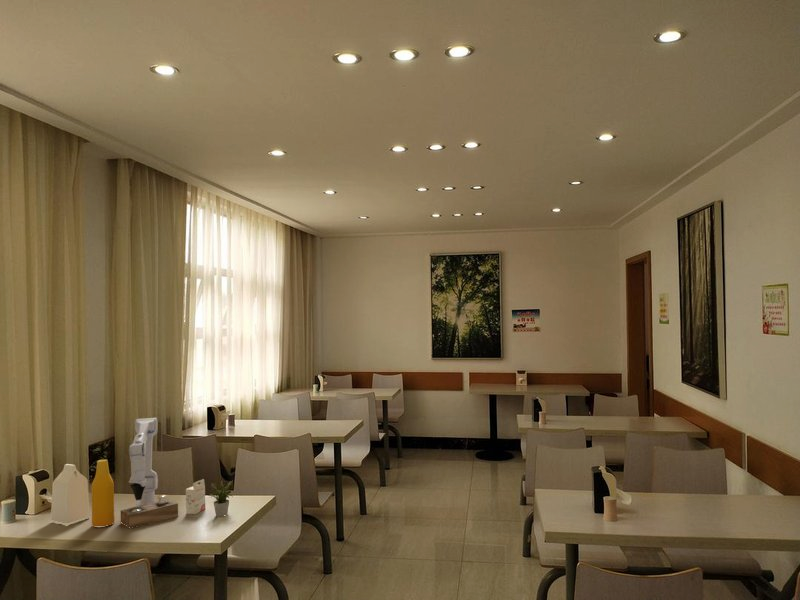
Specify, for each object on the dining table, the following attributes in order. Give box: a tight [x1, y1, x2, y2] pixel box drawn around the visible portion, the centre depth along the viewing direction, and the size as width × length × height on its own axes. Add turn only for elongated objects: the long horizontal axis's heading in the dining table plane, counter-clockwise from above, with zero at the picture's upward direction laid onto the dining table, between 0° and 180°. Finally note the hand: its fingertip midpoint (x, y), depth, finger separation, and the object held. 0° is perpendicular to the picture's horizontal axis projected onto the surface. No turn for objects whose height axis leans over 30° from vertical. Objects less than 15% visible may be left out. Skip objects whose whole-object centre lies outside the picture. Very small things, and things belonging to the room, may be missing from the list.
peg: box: [157, 494, 168, 506], centre depth 282 cm, size 4×4×6 cm
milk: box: [50, 463, 91, 523], centre depth 281 cm, size 12×12×26 cm
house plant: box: [207, 479, 233, 517], centre depth 281 cm, size 14×14×16 cm
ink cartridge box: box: [185, 478, 206, 515], centre depth 288 cm, size 9×5×15 cm, turn 161°
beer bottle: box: [91, 459, 115, 527], centre depth 273 cm, size 9×9×29 cm
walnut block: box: [120, 498, 179, 529], centre depth 278 cm, size 11×22×6 cm, turn 135°
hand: (138, 499), depth 274 cm, fingers closed
